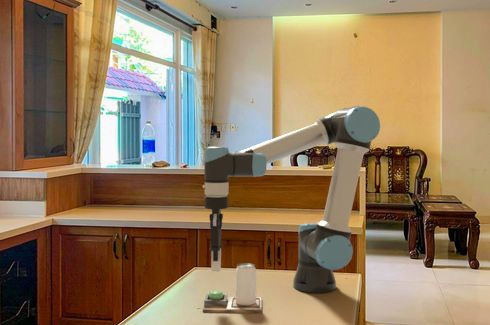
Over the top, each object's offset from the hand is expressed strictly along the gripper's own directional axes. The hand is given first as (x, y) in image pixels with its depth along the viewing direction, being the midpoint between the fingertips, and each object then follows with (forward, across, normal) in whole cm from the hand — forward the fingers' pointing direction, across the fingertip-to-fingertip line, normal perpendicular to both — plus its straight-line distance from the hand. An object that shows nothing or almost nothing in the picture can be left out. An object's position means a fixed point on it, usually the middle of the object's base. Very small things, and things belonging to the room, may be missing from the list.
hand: (216, 269), depth 162 cm
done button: (+9, 0, 0) cm, 9 cm away
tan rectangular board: (+11, 0, +6) cm, 13 cm away
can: (+11, 0, +10) cm, 14 cm away
